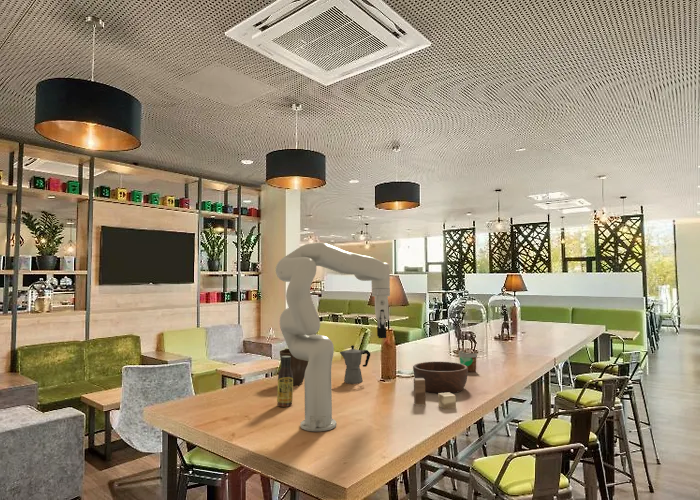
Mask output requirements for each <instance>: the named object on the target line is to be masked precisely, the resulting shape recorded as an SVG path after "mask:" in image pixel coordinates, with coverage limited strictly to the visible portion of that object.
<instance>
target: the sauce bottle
mask: <svg viewBox="0 0 700 500" xmlns="http://www.w3.org/2000/svg"><path fill="white" fill-rule="evenodd" d="M290 361H291V356H282V357H281V358H280V363H281V365H280V369H279V371H278V374H277V390H276V391H277V396H276V401H277V406H278V407H280V408H286V407H287V408H288V407H292V405H293V399H294V398H293V393H294V385H293V371H292V369H291V368H290V367H291V366H290Z"/></svg>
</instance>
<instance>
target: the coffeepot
mask: <svg viewBox="0 0 700 500" xmlns="http://www.w3.org/2000/svg"><path fill="white" fill-rule="evenodd" d="M350 347H351V348H350V349H347V350H342V351H340V352H339V354H340V355H341V356H342V357H343V360H344V363H345V365H346V368H345V371H344V372H345V373H344V379H343V382H344V384H345V383H346V384H350V385H354V384H357V385H358V384H360V383H362V382H363V376H362V370H361V368H360V365H361V363H362V355H366V359H365V361H364V364H362V367H363V368H364V367H365V368H366V367H367V366H368V364H369V360H370V358H371V352H370V351H369V350H368V349H356V348H355V345H354V344H353V345H352V344H351V346H350Z"/></svg>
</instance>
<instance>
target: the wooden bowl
mask: <svg viewBox="0 0 700 500" xmlns="http://www.w3.org/2000/svg"><path fill="white" fill-rule="evenodd" d="M412 370H413V376H414V377H413V378H424V379H425V393H432V394H438V393H448V392H450V393H452V394H454V393H459V392H461V391H463V389H465V387H466V383H467V380H468V375H469V372H468V367H467V366H466V365H463V364H460V362H451V361H425V362H424V361H423V362H419V363H416V364H414V365H412Z"/></svg>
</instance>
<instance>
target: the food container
mask: <svg viewBox="0 0 700 500" xmlns="http://www.w3.org/2000/svg"><path fill="white" fill-rule="evenodd" d="M458 357H459V363H460V364H463V365H466V366H467V367H468V373H476V372H477V371H476V370H477V358H478V355H477V353H475V352H474V353H471V352H465V351H464V350H459V351H458Z"/></svg>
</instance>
